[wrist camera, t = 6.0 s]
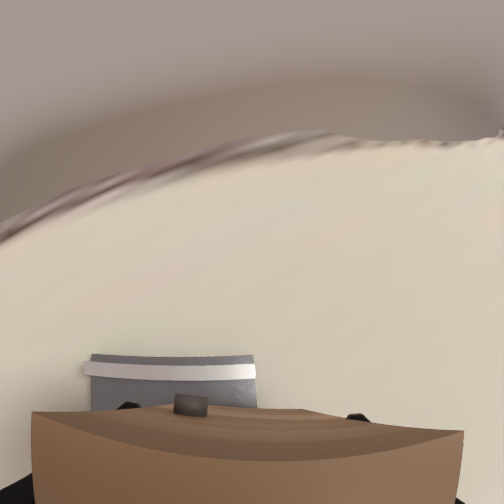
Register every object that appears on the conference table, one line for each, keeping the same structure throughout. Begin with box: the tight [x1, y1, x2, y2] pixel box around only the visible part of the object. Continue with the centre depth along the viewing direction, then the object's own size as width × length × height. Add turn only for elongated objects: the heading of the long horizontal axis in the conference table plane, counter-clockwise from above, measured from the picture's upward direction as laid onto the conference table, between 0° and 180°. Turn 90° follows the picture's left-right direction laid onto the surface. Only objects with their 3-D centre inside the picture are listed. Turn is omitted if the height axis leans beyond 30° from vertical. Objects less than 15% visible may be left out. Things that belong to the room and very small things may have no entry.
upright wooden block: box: [31, 393, 464, 504], centre depth 8 cm, size 4×6×12 cm, turn 87°
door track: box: [84, 354, 257, 411], centre depth 17 cm, size 12×9×2 cm
